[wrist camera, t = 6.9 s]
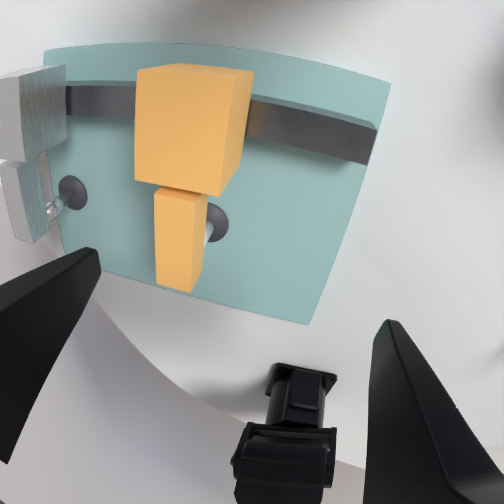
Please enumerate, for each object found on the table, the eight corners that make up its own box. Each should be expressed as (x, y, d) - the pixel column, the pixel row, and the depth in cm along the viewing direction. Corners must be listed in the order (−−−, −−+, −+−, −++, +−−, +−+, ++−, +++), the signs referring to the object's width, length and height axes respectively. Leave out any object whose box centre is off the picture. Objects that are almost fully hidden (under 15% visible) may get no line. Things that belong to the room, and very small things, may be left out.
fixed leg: (88, 207, 22) (43, 248, 18) (52, 198, 23) (7, 235, 18) (81, 60, 16) (18, 76, 11) (41, 64, 16) (-19, 82, 11)
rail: (362, 154, 17) (366, 165, 16) (48, 107, 19) (30, 114, 17) (371, 122, 16) (377, 130, 14) (47, 81, 17) (29, 87, 16)
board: (309, 316, 27) (308, 327, 26) (71, 252, 28) (64, 259, 27) (387, 82, 15) (392, 84, 14) (52, 49, 17) (41, 51, 16)
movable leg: (233, 241, 22) (208, 299, 17) (176, 228, 22) (140, 280, 17) (260, 70, 15) (234, 78, 10) (188, 61, 15) (137, 70, 11)
